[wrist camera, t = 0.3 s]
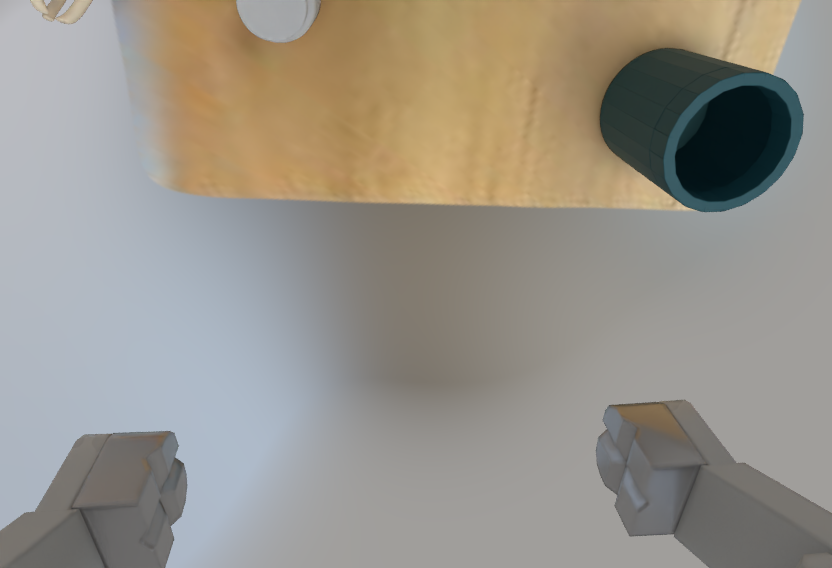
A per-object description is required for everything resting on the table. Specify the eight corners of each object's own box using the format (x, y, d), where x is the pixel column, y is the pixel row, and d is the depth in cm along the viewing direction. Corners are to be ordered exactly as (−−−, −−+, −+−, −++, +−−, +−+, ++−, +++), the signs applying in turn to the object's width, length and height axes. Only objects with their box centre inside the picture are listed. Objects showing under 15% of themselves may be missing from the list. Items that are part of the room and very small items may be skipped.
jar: (611, 48, 43) (684, 72, 34) (723, 48, 44) (825, 72, 34) (591, 163, 48) (649, 213, 38) (692, 161, 48) (775, 210, 39)
